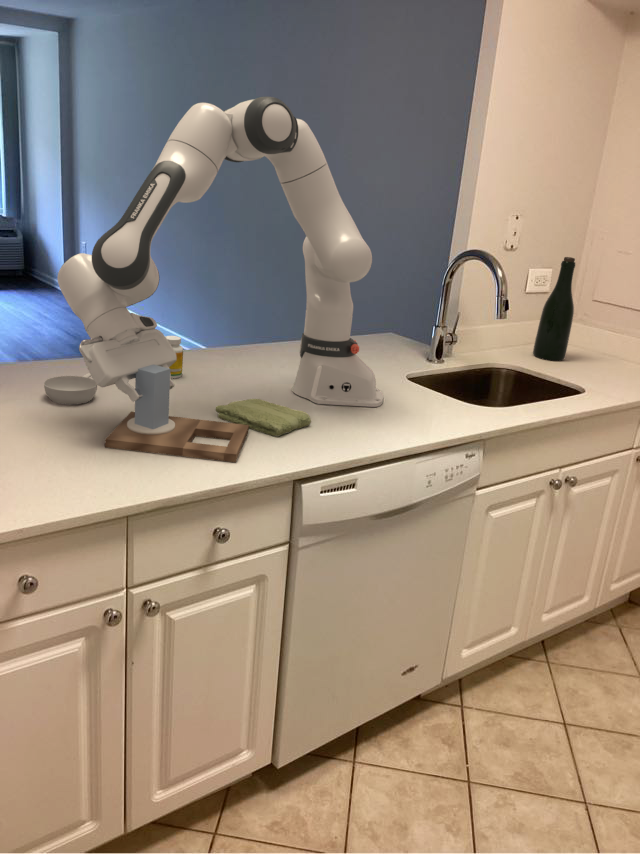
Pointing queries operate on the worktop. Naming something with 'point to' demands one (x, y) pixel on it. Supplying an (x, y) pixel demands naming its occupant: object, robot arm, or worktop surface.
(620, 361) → the worktop surface
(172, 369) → the supplement bottle
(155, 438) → the walnut board
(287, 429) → the washcloth
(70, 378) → the saucepan
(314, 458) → the worktop surface
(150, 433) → the felt coaster
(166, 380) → the slate block
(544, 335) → the green wine bottle
